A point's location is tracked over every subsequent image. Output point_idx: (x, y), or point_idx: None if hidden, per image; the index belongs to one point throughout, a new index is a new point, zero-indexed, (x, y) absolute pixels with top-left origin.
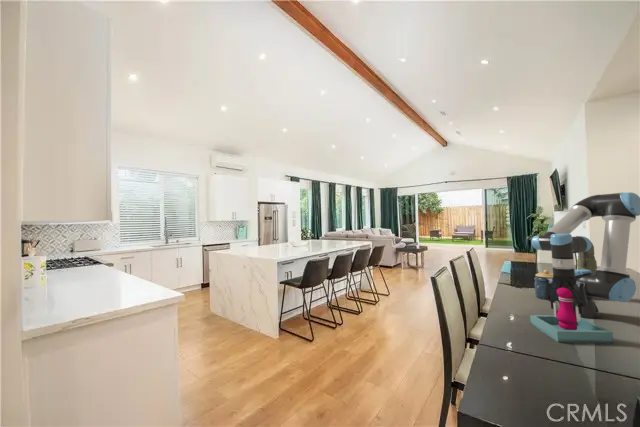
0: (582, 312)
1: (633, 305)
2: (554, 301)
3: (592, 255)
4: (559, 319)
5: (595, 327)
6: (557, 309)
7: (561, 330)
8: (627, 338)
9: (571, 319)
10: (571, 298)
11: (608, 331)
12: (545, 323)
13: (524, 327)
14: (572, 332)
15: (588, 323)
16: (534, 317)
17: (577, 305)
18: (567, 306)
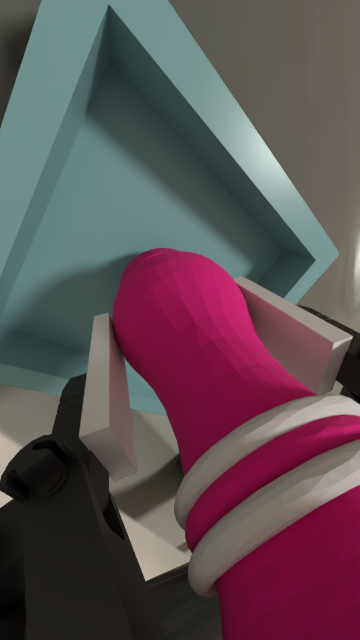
0: (67, 400)
1: (169, 542)
2: (344, 376)
3: None
4: (202, 255)
5: (60, 371)
6: (260, 338)
7: (83, 2)
8: (12, 419)
9: (127, 284)
10: (215, 583)
11: None
12: (251, 144)
13: (313, 161)
14: (18, 88)
15: None
16: (320, 231)
17: (124, 465)
18: (196, 366)
